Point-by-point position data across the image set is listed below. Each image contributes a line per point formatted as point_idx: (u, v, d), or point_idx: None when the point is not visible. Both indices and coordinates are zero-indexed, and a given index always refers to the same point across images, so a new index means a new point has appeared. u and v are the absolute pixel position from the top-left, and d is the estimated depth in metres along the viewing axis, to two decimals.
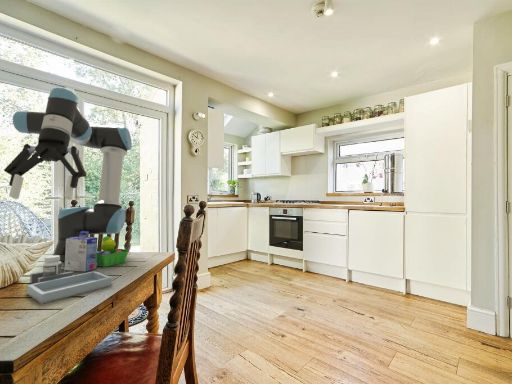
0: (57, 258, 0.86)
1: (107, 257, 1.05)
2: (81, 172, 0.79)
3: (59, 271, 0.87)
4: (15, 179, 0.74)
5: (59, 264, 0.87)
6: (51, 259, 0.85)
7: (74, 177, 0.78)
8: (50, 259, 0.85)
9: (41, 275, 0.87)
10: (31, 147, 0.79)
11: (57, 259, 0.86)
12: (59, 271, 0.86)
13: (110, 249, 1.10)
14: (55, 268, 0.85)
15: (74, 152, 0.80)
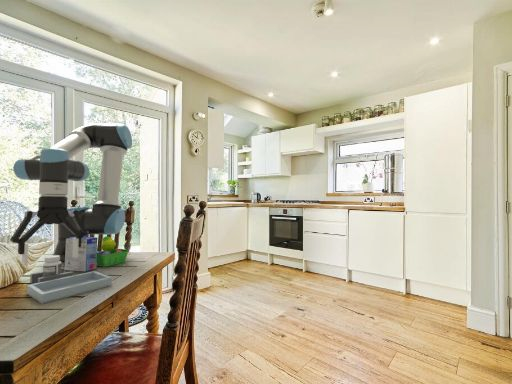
0: (57, 258, 0.86)
1: (107, 257, 1.05)
2: (86, 234, 0.94)
3: (59, 271, 0.87)
4: (27, 248, 0.80)
5: (59, 264, 0.87)
6: (51, 259, 0.85)
7: (79, 239, 0.92)
8: (50, 259, 0.85)
9: (41, 275, 0.87)
10: (33, 213, 0.82)
11: (57, 259, 0.86)
12: (59, 271, 0.86)
13: (110, 249, 1.10)
14: (55, 268, 0.85)
15: (77, 216, 0.91)
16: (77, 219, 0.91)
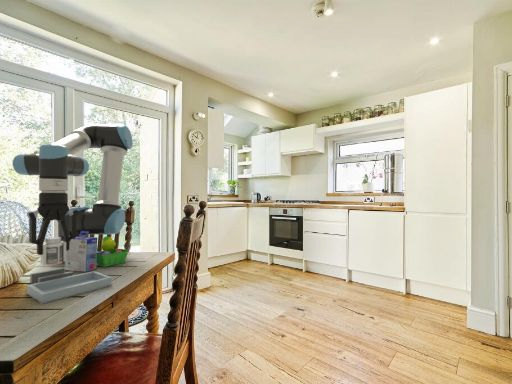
0: (58, 240, 0.87)
1: (107, 257, 1.05)
2: (74, 237, 0.91)
3: (60, 252, 0.87)
4: (45, 249, 0.84)
5: (61, 246, 0.87)
6: (52, 240, 0.85)
7: (67, 242, 0.90)
8: (51, 240, 0.85)
9: (41, 275, 0.87)
10: (34, 213, 0.83)
11: (58, 241, 0.87)
12: (60, 252, 0.87)
13: (110, 249, 1.10)
14: (57, 249, 0.86)
15: (75, 216, 0.91)
16: (73, 219, 0.91)
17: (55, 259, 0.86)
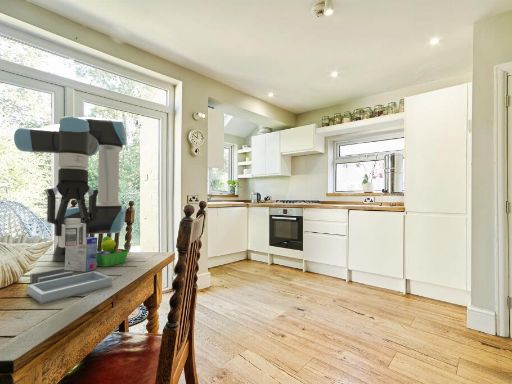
0: (78, 220, 0.80)
1: (107, 257, 1.05)
2: (94, 219, 0.84)
3: (80, 234, 0.80)
4: (64, 230, 0.77)
5: (80, 227, 0.80)
6: (72, 221, 0.78)
7: (87, 224, 0.83)
8: (71, 220, 0.78)
9: (41, 275, 0.87)
10: (53, 190, 0.76)
11: (78, 221, 0.80)
12: (80, 234, 0.80)
13: (110, 249, 1.10)
14: (76, 230, 0.79)
15: (95, 196, 0.84)
16: (93, 199, 0.84)
17: (74, 242, 0.78)
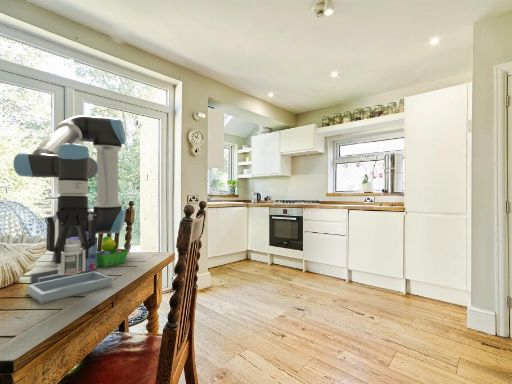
0: (77, 247, 0.79)
1: (107, 257, 1.05)
2: (93, 244, 0.84)
3: (79, 261, 0.80)
4: (63, 258, 0.77)
5: (80, 254, 0.80)
6: (71, 248, 0.78)
7: (86, 249, 0.82)
8: (70, 248, 0.78)
9: (41, 275, 0.87)
10: (52, 218, 0.76)
11: (77, 248, 0.79)
12: (79, 261, 0.80)
13: (110, 249, 1.10)
14: (76, 257, 0.79)
15: (95, 222, 0.84)
16: (93, 225, 0.84)
17: (73, 269, 0.78)
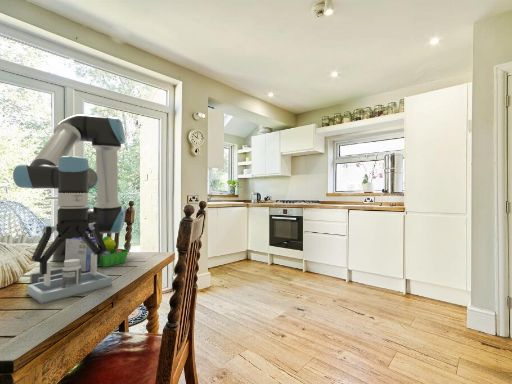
0: (77, 262, 0.79)
1: (107, 257, 1.05)
2: (105, 249, 0.86)
3: (79, 276, 0.80)
4: (49, 268, 0.74)
5: (80, 269, 0.80)
6: (71, 263, 0.78)
7: (98, 254, 0.85)
8: (70, 263, 0.78)
9: (41, 275, 0.87)
10: (52, 228, 0.75)
11: (77, 263, 0.79)
12: (79, 276, 0.80)
13: (110, 249, 1.10)
14: (75, 273, 0.79)
15: (97, 229, 0.85)
16: (97, 233, 0.85)
17: (73, 284, 0.78)
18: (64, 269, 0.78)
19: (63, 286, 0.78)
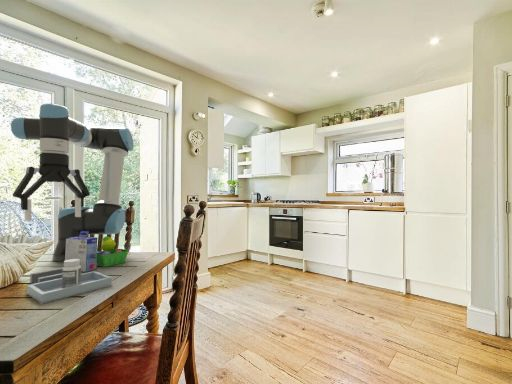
0: (77, 262, 0.79)
1: (107, 257, 1.05)
2: (88, 194, 0.93)
3: (79, 276, 0.80)
4: (30, 204, 0.79)
5: (80, 269, 0.80)
6: (71, 263, 0.78)
7: (82, 198, 0.92)
8: (70, 263, 0.78)
9: (41, 275, 0.87)
10: (34, 169, 0.81)
11: (77, 263, 0.80)
12: (79, 275, 0.80)
13: (110, 249, 1.10)
14: (75, 273, 0.79)
15: (79, 175, 0.91)
16: (79, 178, 0.91)
17: (73, 284, 0.78)
18: (64, 269, 0.78)
19: (63, 286, 0.78)
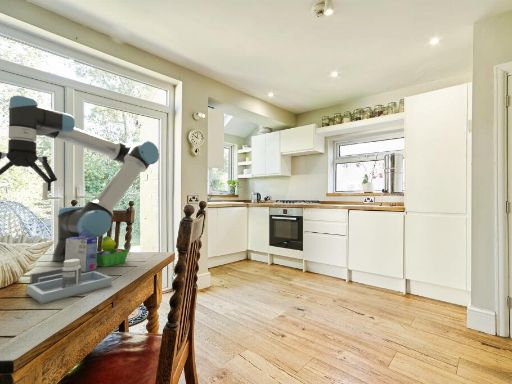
0: (77, 262, 0.79)
1: (107, 257, 1.05)
2: (55, 179, 1.01)
3: (79, 276, 0.80)
4: None
5: (79, 269, 0.80)
6: (71, 263, 0.78)
7: (49, 183, 1.00)
8: (70, 263, 0.78)
9: (41, 275, 0.87)
10: (2, 154, 0.90)
11: (77, 263, 0.79)
12: (79, 276, 0.80)
13: (110, 249, 1.10)
14: (75, 273, 0.79)
15: (46, 162, 0.99)
16: (46, 164, 0.99)
17: (73, 284, 0.78)
18: (64, 269, 0.78)
19: (63, 286, 0.78)
